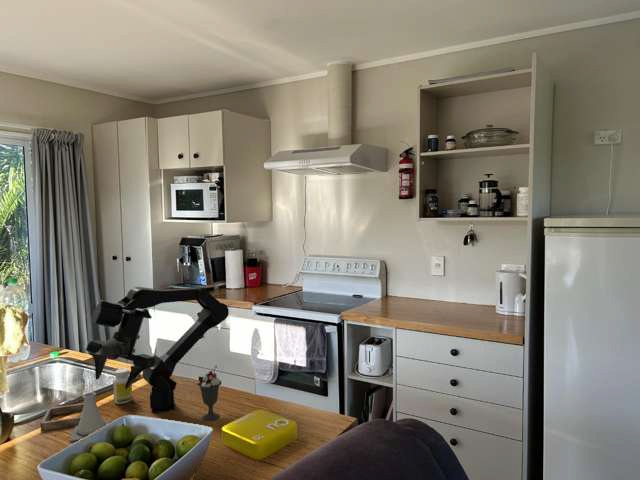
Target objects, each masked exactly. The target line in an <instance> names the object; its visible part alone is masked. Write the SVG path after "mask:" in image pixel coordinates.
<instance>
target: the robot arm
mask: <svg viewBox="0 0 640 480" xmlns="http://www.w3.org/2000/svg"><path fill="white" fill-rule="evenodd" d="M190 301H197V303H198V304H199V306H200V307H201V311H200V312H199V315H198V318H197V319H196V321H195V322H194V323H193V324H192V325H191V326H190V327H189V328H188V329H187V330H186V331H185V332H184V333H183V334H182V336H181V337H180V338H178V340H177V341H176V342H175V343H174V344H173V345H172V346H171V347H170V348H169V349H168V350H167V352H165V353H164V354H163V355H161V356H158V355H156V354H154V355H148V354H145V353H141V354H135V352H136V348H135V347H136V343H137V341H138V340H139V339H140V337H141V335H139V334H140V331H141V328H142V325H143V321H144V318H145V319H152V314H150V312H149V310H148V309H149V308H153V307H156V306H158V305H162V304H166V303H177V302H180V303H181V302H190ZM229 311H230V310H229V307H228V305H227V304H225V303H223V302H220V301H219V300H218V299H217V298H216V297H214V295H212V294H211V293H210V292H209V291H208V290H207V289H206V288H205V287H201V286H192V287H182V288H180V287H179V288H164V289H163V288H162V289H158V288H150V287H143V286H134V287H132V288H130V290H129V291H128V292H127V294H126V295H125V296H124V297H123V298H121V299H119V301H117V303H114V302H109V301H106V300H104V299H100V301H99V303H98V304H97V305H96V307H95V309H94V311H93V313H92V317H91V323H92V325H96V326H97V325H98V326H104V327H108V328H115V327H116V326H118V329H117V331H115V332H114V333H113V335H112V337H111V338H109V339H108V340H106V341H103V340H100V339H98V340H91V341H89V342H88V343H87V345H86V348H85V351H86V352H89V353H88V354H89V355H90V356H91V357H92V358H93V360H94V361H93V362H94V371H95V373H94V374H95V380H100V377H101V375H102V373H103V372H104V371H103V370H104V367H105V364H106V362H107V360H108V359H109V358H110V359H111V360H117V359H118V358H121V359H125V360H128V361H131V362H132V363H133V364H132V365H131V366H130V372H129V374H128V375H129V377H128V380H127V382H126V386H125V389H128V388H129V386H130V385H131V384H133V383H134V381H136V379H137V377H139V376H140V374H141V373H142V378H143V379H144V381H145V382H146V383H148V384H149V386H151V392H149V408H150V409H151V413H153V414H154V413H160V412H161V413H162V412H166V411H167V412H168V411H173V410H175V409H176V405H175V396H174V395H175V391H174V390H176V389H177V384H178V383H177V381H175V380H173V379H172V378H171V377H172V375H173V373H174V370H175V369H176V368H175V367H176V365H177V364H178V363H179V362H180V361H181V360H182V359H183V358H184V357H185V356H186V354H188V352H189V351H190V350H191V349H192V348H193V347H194V346H195V345H196V344H197V343H198V341H199V340H200V339H201V338H202V337H203V336H204V335H205V334H206V333H207V332H208V331H209V330H210V329H212V328H214V327H217V326H218V325H220V324H221V323H222V322H224V321H225V320H226V319H227V318H228V317H229V313H230V312H229Z"/></svg>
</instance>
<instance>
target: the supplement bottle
mask: <svg viewBox="0 0 640 480" xmlns="http://www.w3.org/2000/svg"><path fill="white" fill-rule="evenodd" d="M114 374H115V375H114V376H115V377H114V378H113V380H112V386H113V390H112V391H113V402H114V404H117V405H120V404H122V405H123V404H126V403H129V402H131V401H132V400H133V385H132V384H133V383H132V384H131V385H130V386H129V388H128V389H125V386H126V382H127V380H128V377H129V375H130V372H129V368H119V369H116V370H115V372H114Z"/></svg>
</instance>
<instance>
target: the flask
mask: <svg viewBox="0 0 640 480" xmlns="http://www.w3.org/2000/svg"><path fill="white" fill-rule="evenodd" d="M96 396H97V393H96V392H91V391H90V392H86V393H84V394H83V395H82V398H83V403H84V408H83V412H82V411H81V413H82V416H81V415H80V416H81V419H80V422H79V425H78V428H77V431H76V433H78V434H81V435H89V434H91V433H93V432H95V431H96V430H98V429H100V428H102V427H103V426H105V425H106V423H105V421H106V420H105V419H104V417H103V416H102V413H101V412H100V410H99V407H98V405H97V401H96Z"/></svg>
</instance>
